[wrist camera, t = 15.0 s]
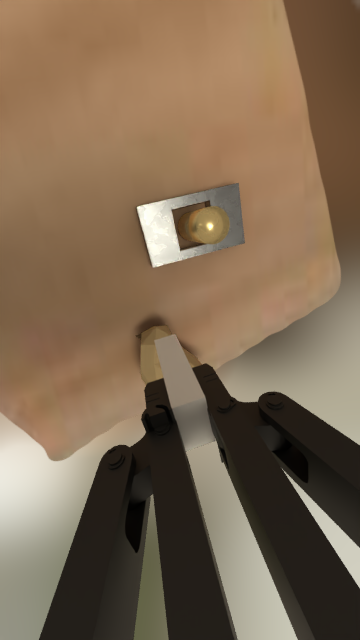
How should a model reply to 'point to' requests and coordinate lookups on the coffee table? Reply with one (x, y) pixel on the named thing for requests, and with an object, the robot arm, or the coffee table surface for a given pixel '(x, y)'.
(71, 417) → the coffee table surface
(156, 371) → the faceted tan rock
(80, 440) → the coffee table surface
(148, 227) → the metal plate with hole
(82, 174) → the coffee table surface
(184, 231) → the gold peg
